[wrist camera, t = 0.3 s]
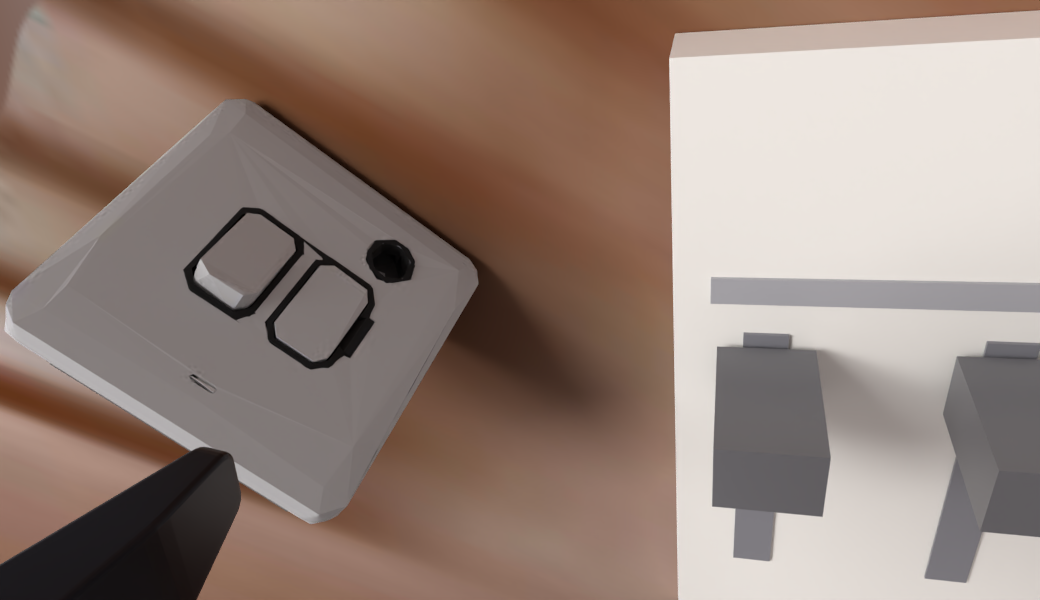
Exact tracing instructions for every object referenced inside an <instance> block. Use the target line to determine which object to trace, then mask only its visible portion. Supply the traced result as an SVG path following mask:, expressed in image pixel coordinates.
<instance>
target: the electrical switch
mask: <svg viewBox="0 0 1040 600" xmlns="http://www.w3.org/2000/svg"><path fill="white" fill-rule="evenodd" d="M478 284H479V283H478V275H477V270H476V268H475V267H474V265H473V264H472V262H471V261H470V259H469V258H467V257H466V256H464V255H463V254H462V253H460V252H459V251H458V250H456V249H455V248H454V247H452V246H451V245H449V244H448V243H447V242H445V241H444V240H443V239H441V238H440V237H438V236H437V235H436V234H434V233H433V232H432V231H430V230H429V229H427V228H426V227H425V226H423V225H422V224H421V223H419V222H418V221H416V220H415V219H414V218H412V217H411V216H410V215H408V214H407V213H405V212H404V211H403V210H401V209H400V208H399V207H397V206H396V205H394V204H393V203H392V202H390V201H389V200H388V199H386V198H385V197H383V196H382V195H381V194H379V193H378V192H377V191H375V190H374V189H373V188H371V187H370V186H368V185H367V184H366V183H364V182H363V181H362V180H360V179H359V178H357V177H356V176H355V175H353V174H352V173H351V172H349V171H348V170H346V169H345V168H344V167H342V166H341V165H340V164H338V163H337V162H335V161H334V160H333V159H331V158H330V157H329V156H327V155H326V154H324V153H323V152H322V151H320V150H319V149H318V148H316V147H315V146H313V145H312V144H311V143H309V142H308V141H307V140H305V139H304V138H302V137H301V136H300V135H298V134H297V133H296V132H294V131H293V130H292V129H290V128H289V127H287V126H286V125H285V124H283V123H282V122H281V121H279V120H278V119H276V118H275V117H274V116H272V115H271V114H270V113H268V112H267V111H265V110H264V109H263V108H261V107H260V106H259V105H257V104H256V103H254V102H252V101H249V100H247V99H231V100H225V101H224V102H222V103H221V104H220V105H219V106H218V107H217V108H216V109H214V110H213V111H212V112H211V113H210V114H209V115H208V116H207V117H205V118H204V119H203V120H202V121H201V122H200V123H199V124H197V125H196V126H195V127H194V128H193V129H192V130H191V131H190V132H188V133H187V134H186V135H185V136H184V137H183V138H182V139H181V140H180V141H178V142H177V143H176V144H175V145H174V146H173V147H172V148H171V149H169V150H168V151H167V152H166V153H165V154H164V155H163V156H162V157H161V158H159V159H158V160H157V161H156V162H155V163H154V164H153V165H152V166H151V167H149V168H148V169H147V170H146V171H145V172H144V173H143V174H142V175H141V176H139V177H138V178H137V179H136V180H135V181H134V182H133V183H132V184H130V185H129V186H128V187H127V188H126V189H125V190H124V191H123V192H122V193H120V194H119V195H118V196H117V197H116V198H115V199H114V200H113V201H112V202H110V203H109V204H108V205H107V206H106V207H105V208H104V209H103V210H101V211H100V212H99V213H98V214H97V215H96V216H95V217H94V218H93V219H91V220H90V221H89V222H88V223H87V224H86V225H85V226H84V227H83V228H81V229H80V230H79V231H78V232H77V233H76V234H75V235H74V236H73V237H71V238H70V239H69V240H68V241H67V242H66V243H65V244H64V245H62V246H61V247H60V248H59V249H58V250H57V251H56V252H55V253H54V254H52V255H51V256H50V257H49V258H48V259H47V260H46V261H45V262H44V263H42V264H41V265H40V266H39V267H38V268H37V269H36V270H35V271H33V272H32V273H31V274H30V275H29V276H28V277H27V278H26V279H25V280H23V281H22V282H21V283H20V284H19V285H18V286H17V287H16V288H15V289H13V290H12V291H11V294H10V296H9V298H8V300H7V303H6V321H5V329H4V331H5V332H7V333H8V334H9V335H10V336H11V337H12V338H13V339H15V340H16V341H17V342H18V343H19V344H21V345H22V346H24V347H26V348H27V349H29V350H30V351H32V352H34V353H35V354H37V355H38V356H40V357H42V358H43V359H45V360H46V361H48V362H50V365H52V366H54V367H55V368H57V369H59V370H60V371H62V372H63V373H65V374H67V375H68V376H70V377H71V378H73V379H75V380H76V381H78V382H79V383H81V384H83V385H84V386H86V387H87V388H89V389H91V390H92V391H94V392H96V393H97V394H99V395H100V396H102V397H104V398H105V399H107V400H108V401H110V402H112V403H113V404H115V405H116V406H118V407H120V408H121V409H123V410H124V411H126V412H128V413H129V414H131V415H132V416H134V417H136V418H137V419H139V420H141V421H142V422H144V423H145V424H147V425H149V426H150V427H152V428H153V429H155V430H157V431H158V432H160V433H161V434H163V435H165V436H166V437H168V438H169V439H171V440H173V441H174V442H176V443H178V444H179V445H181V446H182V447H184V448H186V449H187V450H189V451H192V450H194V449H196V448H199V447H209V448H213V449H218V450H222V451H226V452H228V453H230V454H231V455H232V457H233V459H234V463H235V467H236V472H237V477H238V481H239V482H240V483H242V484H243V485H245V486H247V487H248V488H250V489H252V490H253V491H255V492H256V493H258V494H260V495H261V496H263V497H264V498H266V499H268V500H269V501H271V502H272V503H274V504H276V505H277V506H279V507H280V508H282V509H284V510H285V511H289V512H291V513H292V514H294V515H296V516H297V517H299V518H301V519H302V520H304V521H306V522H308V523H310V524H313V523H318V522H323V521H327V520H329V519H332V518H334V517H335V516H337V515H338V514H339V513H340V512H341V511H342V510H343V509H344V508H345V507H346V506H347V505H348V503H349V502H350V500H351V498H352V497H353V495H354V493H355V492H356V490H357V488H358V486H359V485H360V483H361V481H362V480H363V478H364V476H365V475H366V473H367V471H368V470H369V468H370V466H371V465H372V463H373V461H374V459H375V458H376V456H377V454H378V453H379V451H380V449H381V448H382V446H383V444H384V443H385V441H386V439H387V438H388V436H389V434H390V433H391V431H392V429H393V427H394V426H395V424H396V422H397V421H398V419H399V417H400V416H401V414H402V412H403V411H404V409H405V407H406V406H407V404H408V402H409V400H410V399H411V397H412V395H413V394H414V392H415V390H416V389H417V387H418V385H419V384H420V382H421V380H422V379H423V377H424V375H425V373H426V372H427V370H428V368H429V367H430V365H431V363H432V362H433V360H434V358H435V357H436V355H437V353H438V352H439V350H440V348H441V347H442V345H443V343H444V341H445V340H446V338H447V336H448V335H449V333H450V331H451V330H452V328H453V326H454V325H455V323H456V321H457V320H458V318H459V316H460V314H461V313H462V311H463V309H464V308H465V306H466V304H467V303H468V301H469V299H470V298H471V296H472V294H473V293H474V291H475V289H476V287H477V286H478Z"/></svg>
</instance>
